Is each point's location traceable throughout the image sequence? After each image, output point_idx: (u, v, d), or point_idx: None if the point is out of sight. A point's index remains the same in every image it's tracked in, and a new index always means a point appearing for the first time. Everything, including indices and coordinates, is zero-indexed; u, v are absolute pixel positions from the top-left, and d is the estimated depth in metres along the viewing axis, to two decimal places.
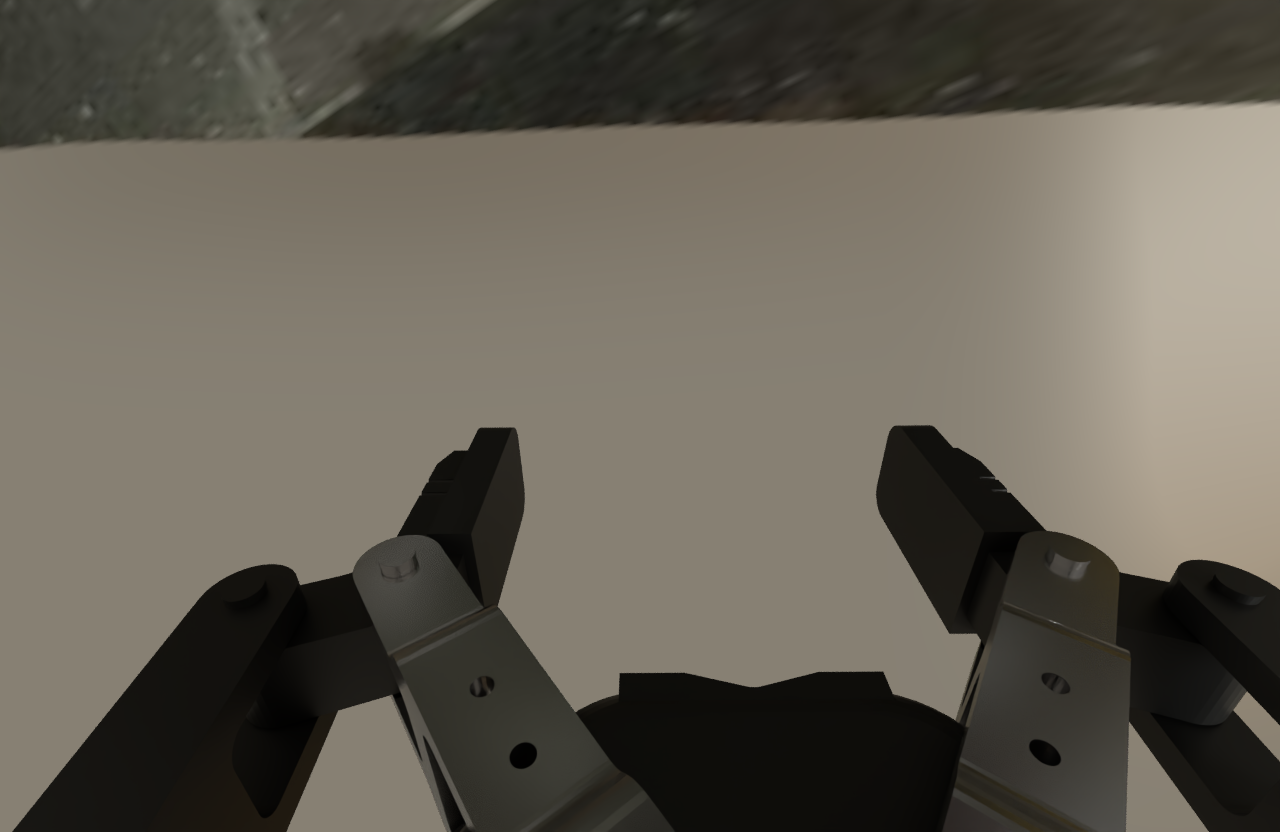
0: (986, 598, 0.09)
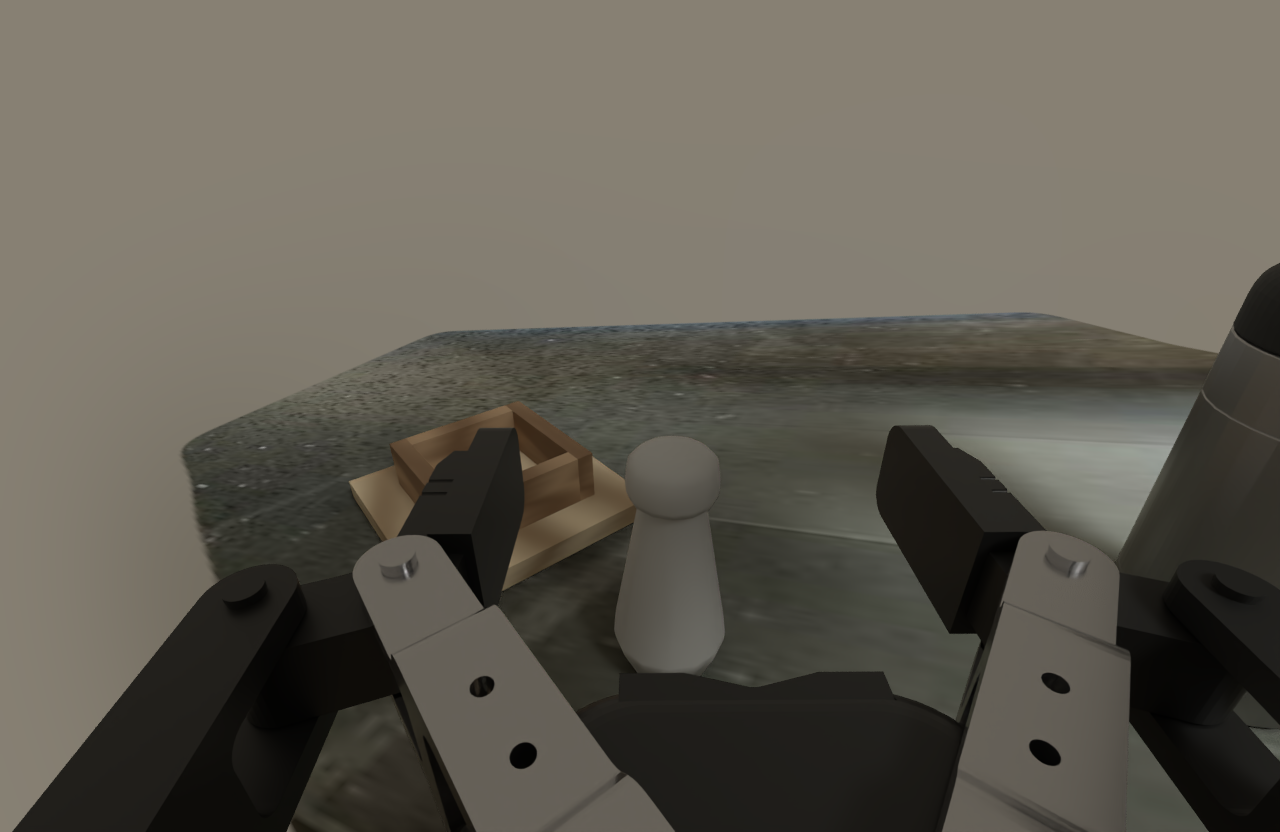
0: (986, 598, 0.09)
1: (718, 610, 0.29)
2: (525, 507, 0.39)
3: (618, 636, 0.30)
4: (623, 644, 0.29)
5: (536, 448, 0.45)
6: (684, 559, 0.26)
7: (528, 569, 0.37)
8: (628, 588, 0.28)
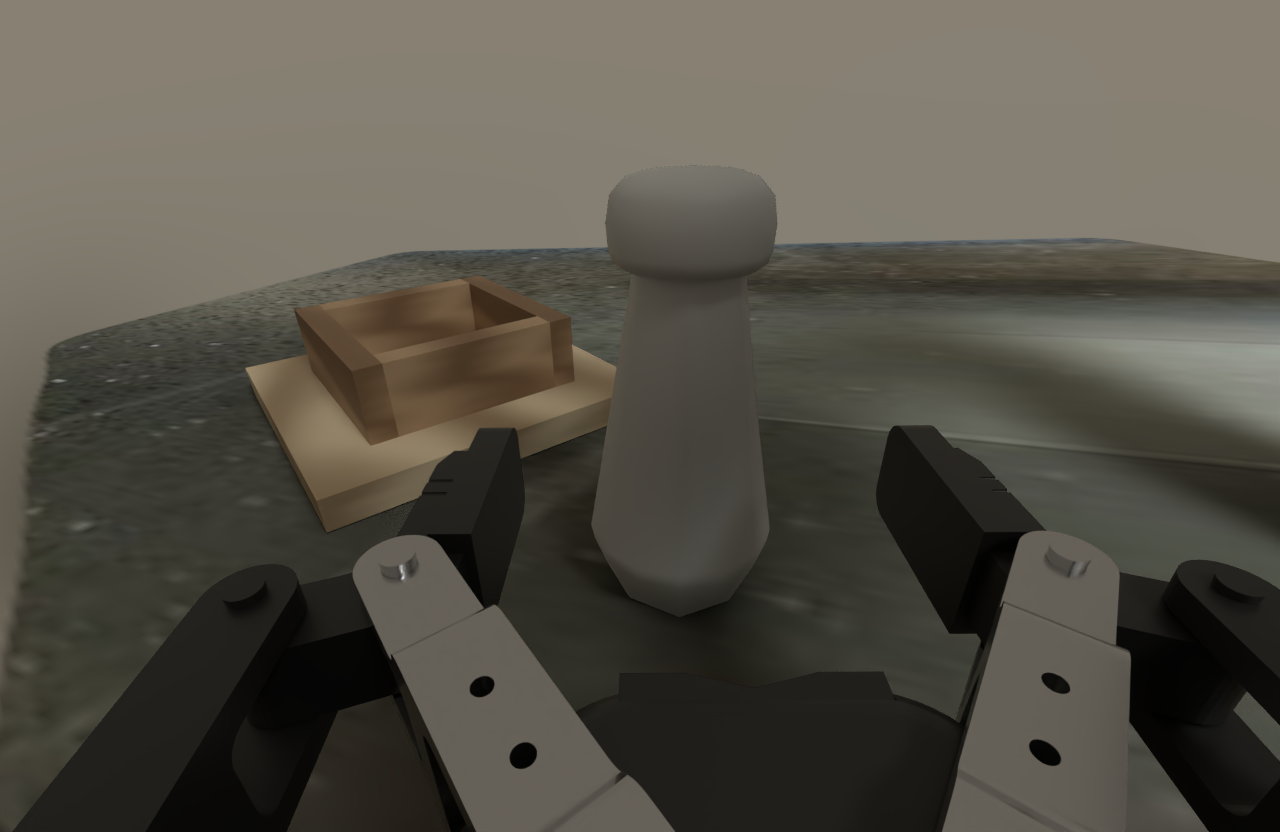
0: (986, 598, 0.09)
1: (761, 485, 0.18)
2: (473, 382, 0.27)
3: (597, 531, 0.18)
4: (605, 541, 0.18)
5: None
6: (709, 371, 0.15)
7: None
8: (612, 442, 0.17)
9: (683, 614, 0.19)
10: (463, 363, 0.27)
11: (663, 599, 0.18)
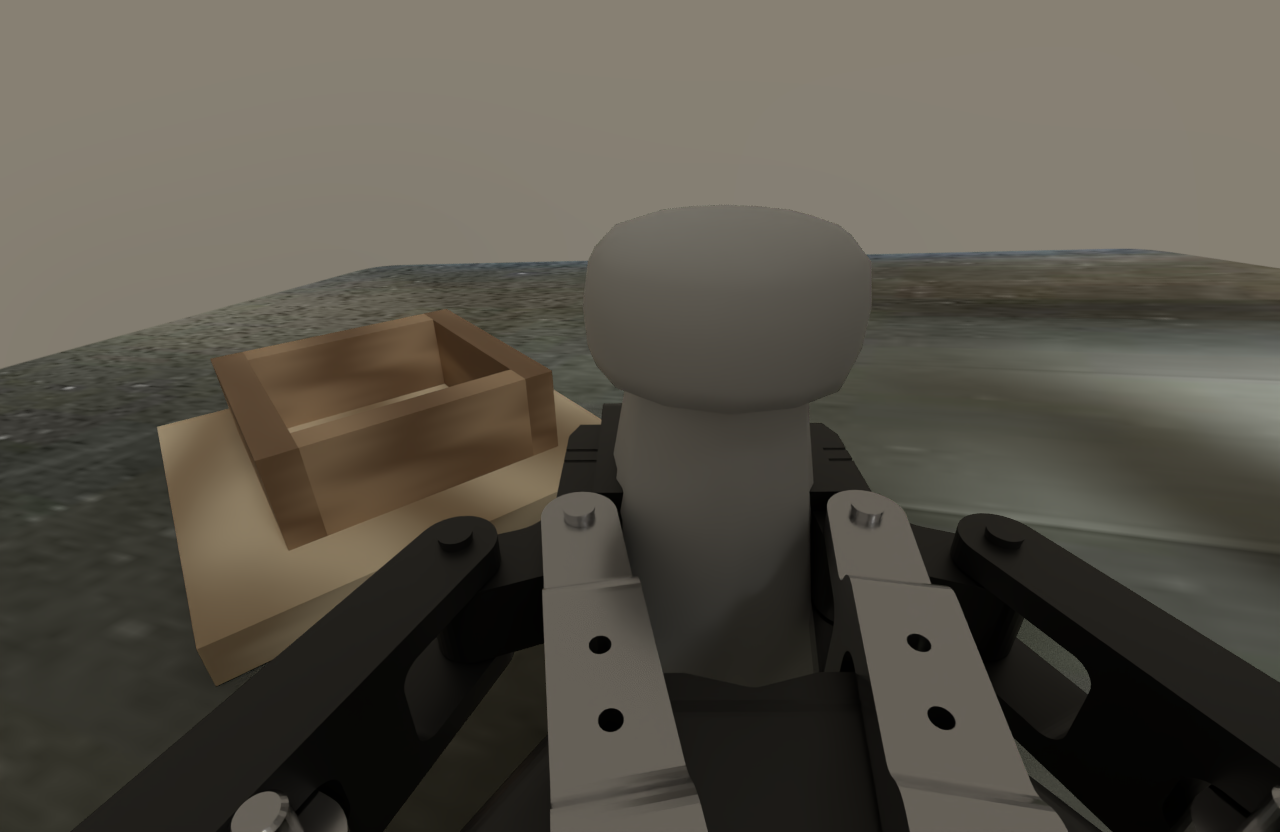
0: (811, 552, 0.10)
1: None
2: (426, 459, 0.21)
3: None
4: None
5: (468, 376, 0.28)
6: (754, 544, 0.09)
7: None
8: None
9: None
10: (412, 438, 0.21)
11: None
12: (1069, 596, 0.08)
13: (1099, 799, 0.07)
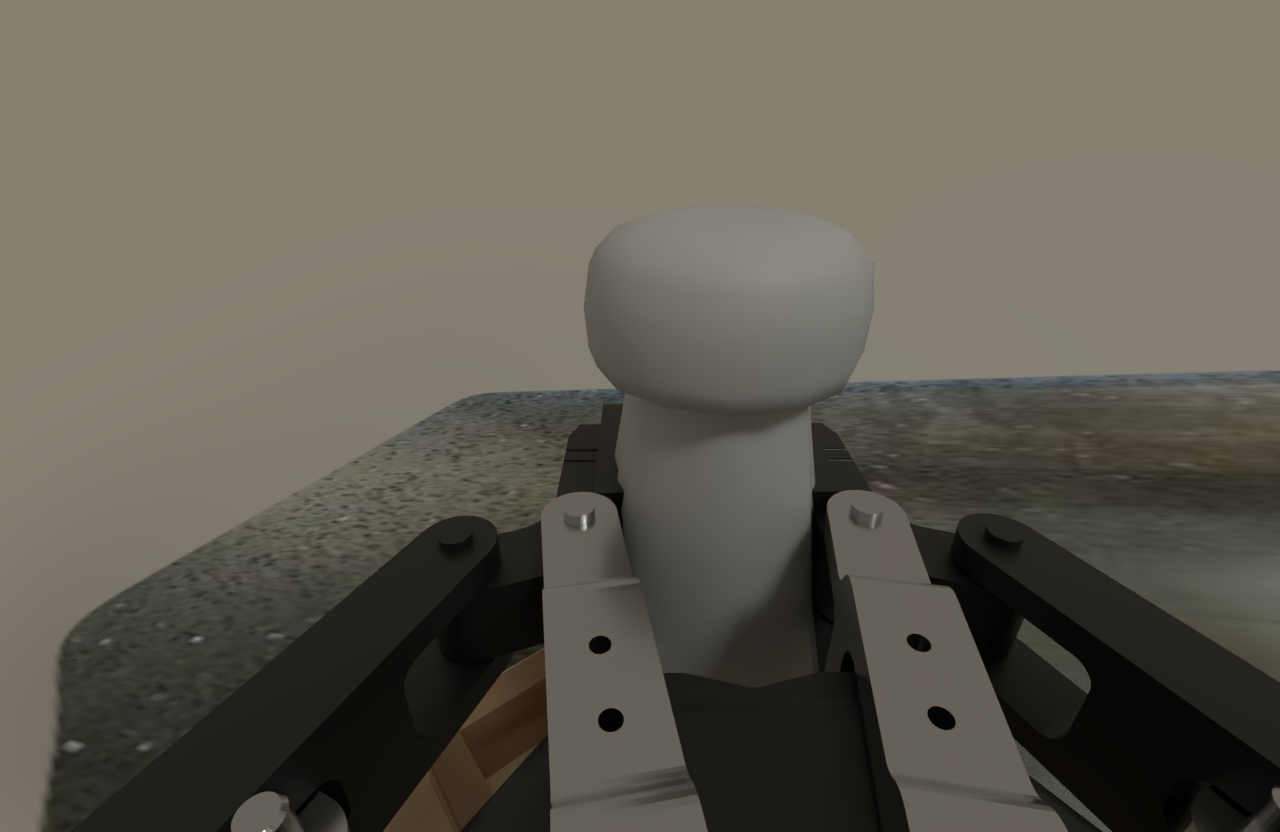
0: None
1: None
2: None
3: None
4: None
5: None
6: (755, 546, 0.09)
7: None
8: None
9: None
10: None
11: None
12: (1069, 596, 0.08)
13: (1099, 799, 0.07)
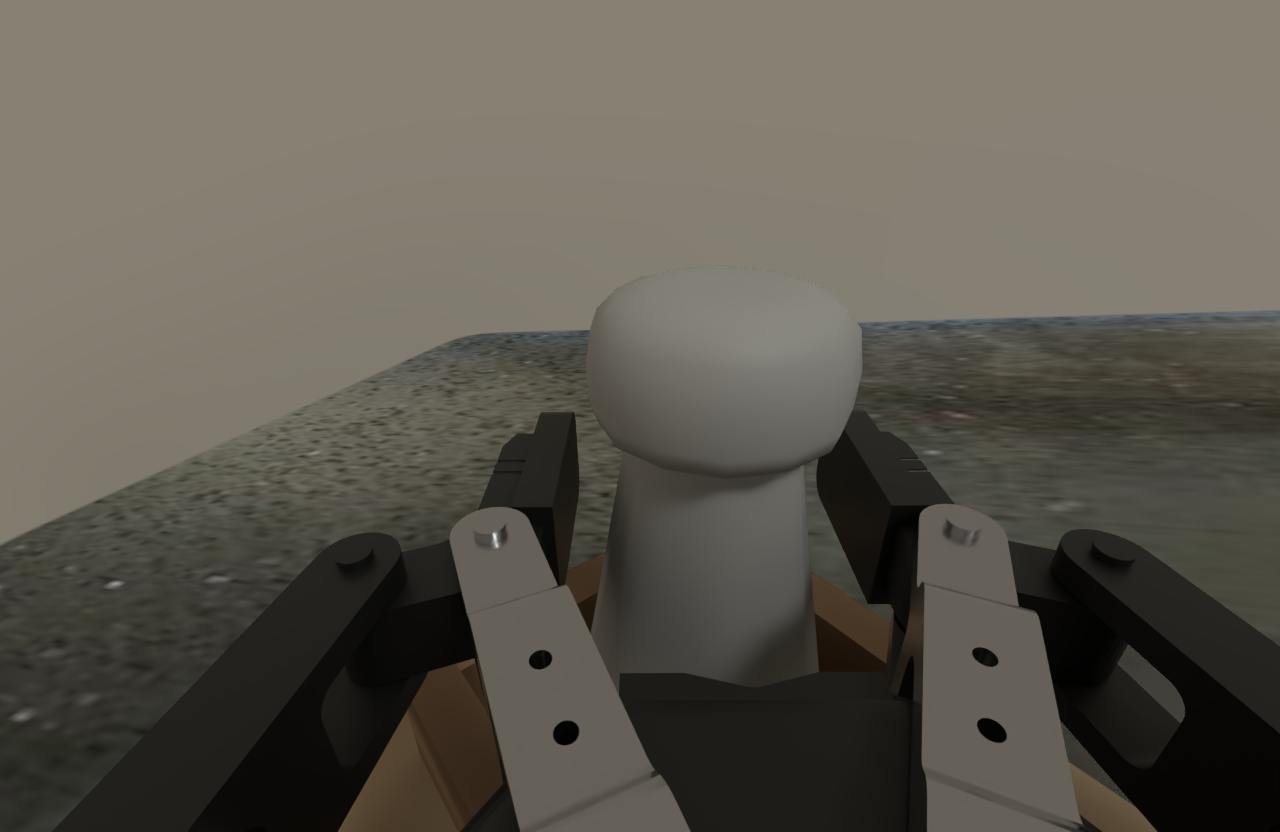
0: (896, 568, 0.10)
1: None
2: None
3: None
4: None
5: None
6: (750, 594, 0.10)
7: None
8: None
9: None
10: None
11: None
12: (1174, 621, 0.07)
13: None
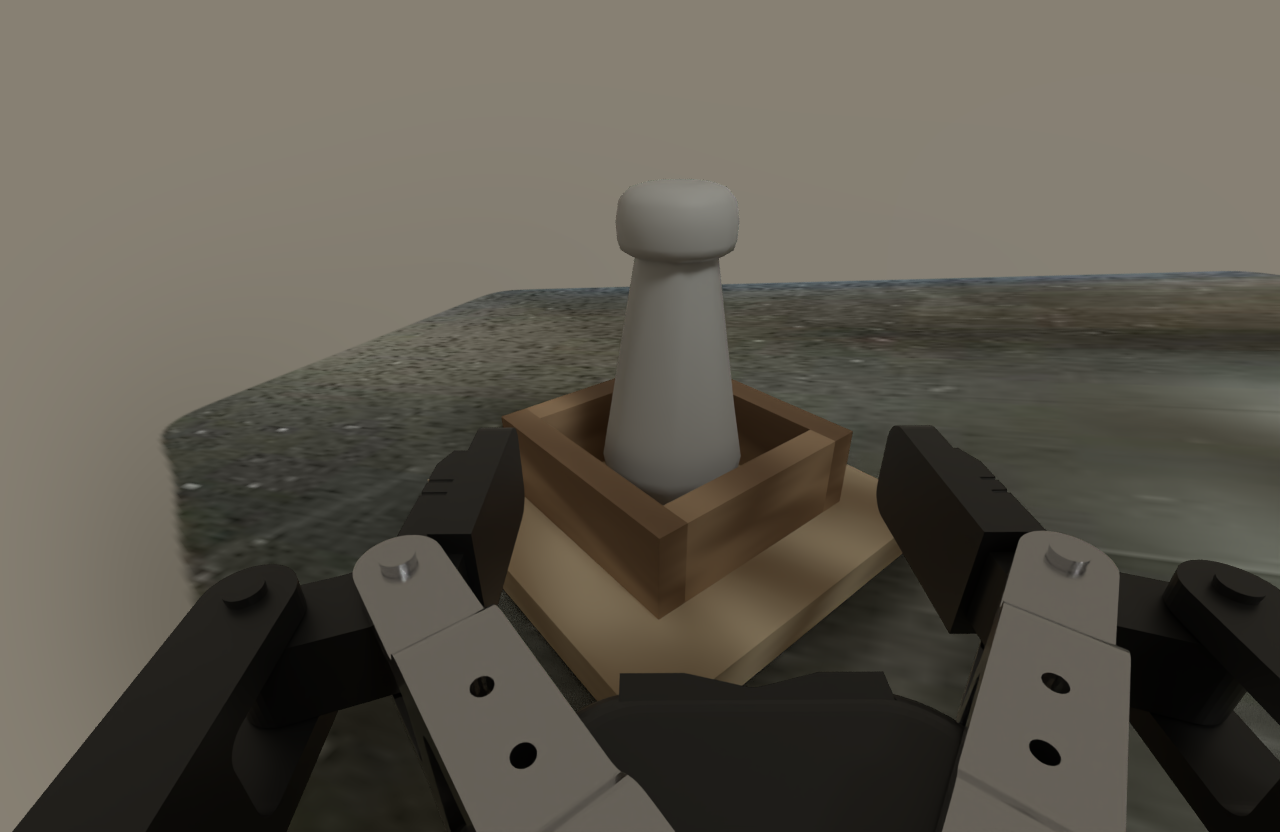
0: (986, 598, 0.09)
1: (732, 419, 0.23)
2: (759, 524, 0.22)
3: (608, 457, 0.24)
4: (614, 462, 0.23)
5: None
6: (691, 329, 0.21)
7: (784, 639, 0.20)
8: (620, 386, 0.23)
9: None
10: (756, 505, 0.21)
11: None
12: None
13: None
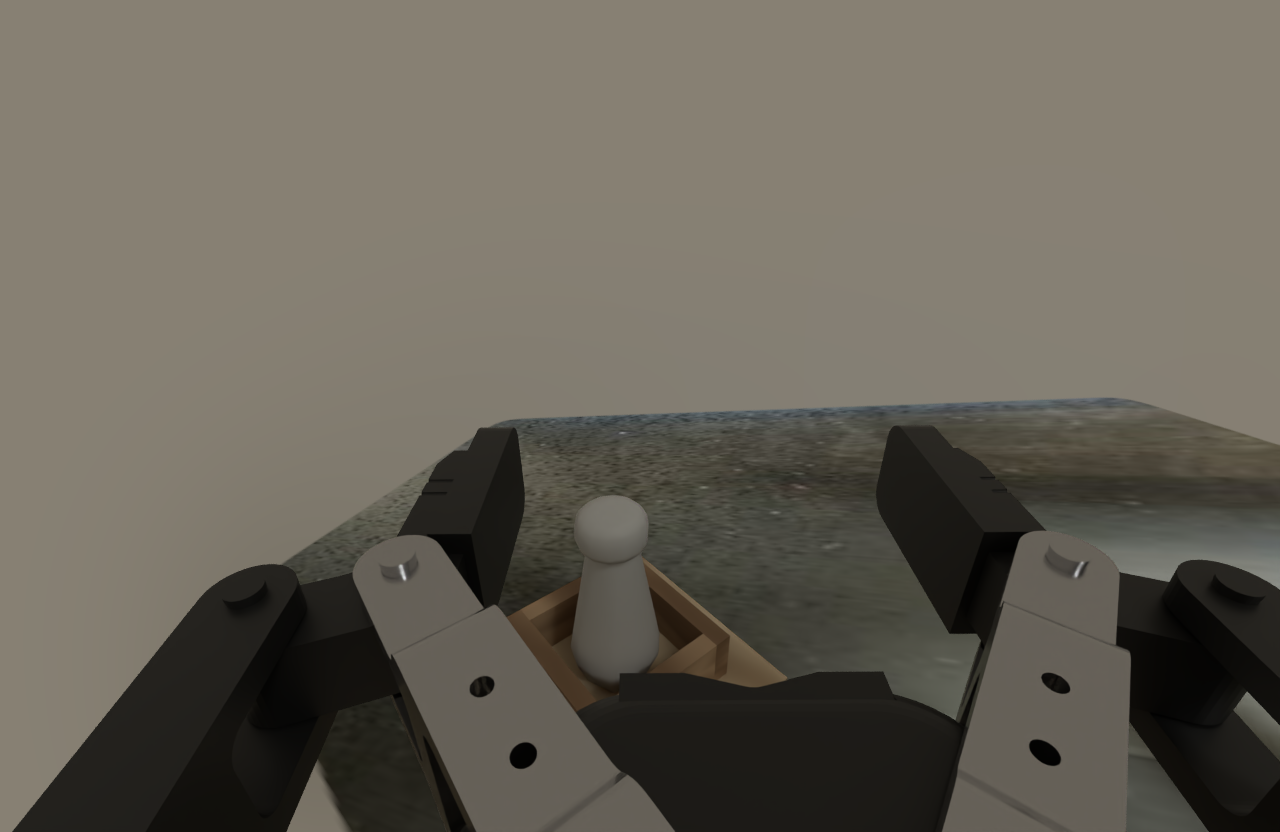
0: (986, 598, 0.09)
1: (651, 631, 0.37)
2: None
3: (573, 651, 0.37)
4: (576, 658, 0.37)
5: (656, 612, 0.41)
6: (620, 592, 0.34)
7: None
8: (579, 613, 0.36)
9: (616, 691, 0.38)
10: None
11: (605, 685, 0.37)
12: None
13: None
